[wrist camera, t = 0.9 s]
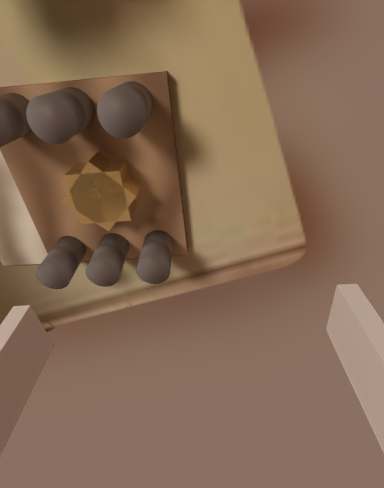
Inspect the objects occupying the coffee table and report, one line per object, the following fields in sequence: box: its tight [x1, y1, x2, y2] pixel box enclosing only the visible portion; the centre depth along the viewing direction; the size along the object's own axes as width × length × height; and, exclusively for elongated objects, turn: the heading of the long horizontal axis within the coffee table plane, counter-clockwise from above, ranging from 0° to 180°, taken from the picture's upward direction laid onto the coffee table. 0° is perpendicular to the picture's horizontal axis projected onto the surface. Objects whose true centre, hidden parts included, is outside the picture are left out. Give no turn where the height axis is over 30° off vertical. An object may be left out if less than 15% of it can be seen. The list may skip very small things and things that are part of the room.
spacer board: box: [0, 71, 188, 289], centre depth 26 cm, size 22×18×6 cm
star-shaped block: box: [62, 151, 142, 231], centre depth 27 cm, size 7×7×3 cm
